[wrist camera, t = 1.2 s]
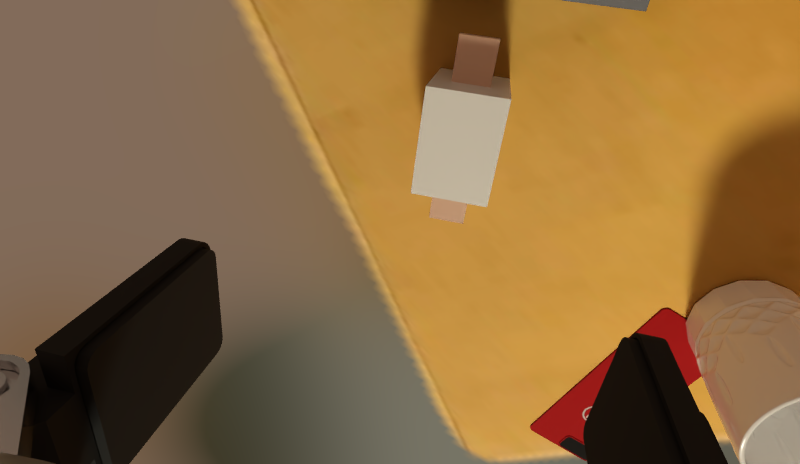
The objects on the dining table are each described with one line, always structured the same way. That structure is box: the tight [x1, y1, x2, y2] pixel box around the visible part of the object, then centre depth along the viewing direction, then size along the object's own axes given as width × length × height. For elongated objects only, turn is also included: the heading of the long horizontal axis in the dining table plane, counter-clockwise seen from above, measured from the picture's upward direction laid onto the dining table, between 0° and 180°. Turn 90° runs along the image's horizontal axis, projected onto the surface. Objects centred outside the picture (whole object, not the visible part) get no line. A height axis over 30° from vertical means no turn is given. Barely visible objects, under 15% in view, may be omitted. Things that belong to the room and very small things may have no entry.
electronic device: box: [530, 308, 702, 461], centre depth 35 cm, size 6×1×15 cm
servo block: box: [411, 33, 511, 224], centre depth 26 cm, size 4×10×6 cm, turn 173°
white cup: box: [686, 280, 800, 464], centre depth 26 cm, size 8×8×10 cm
